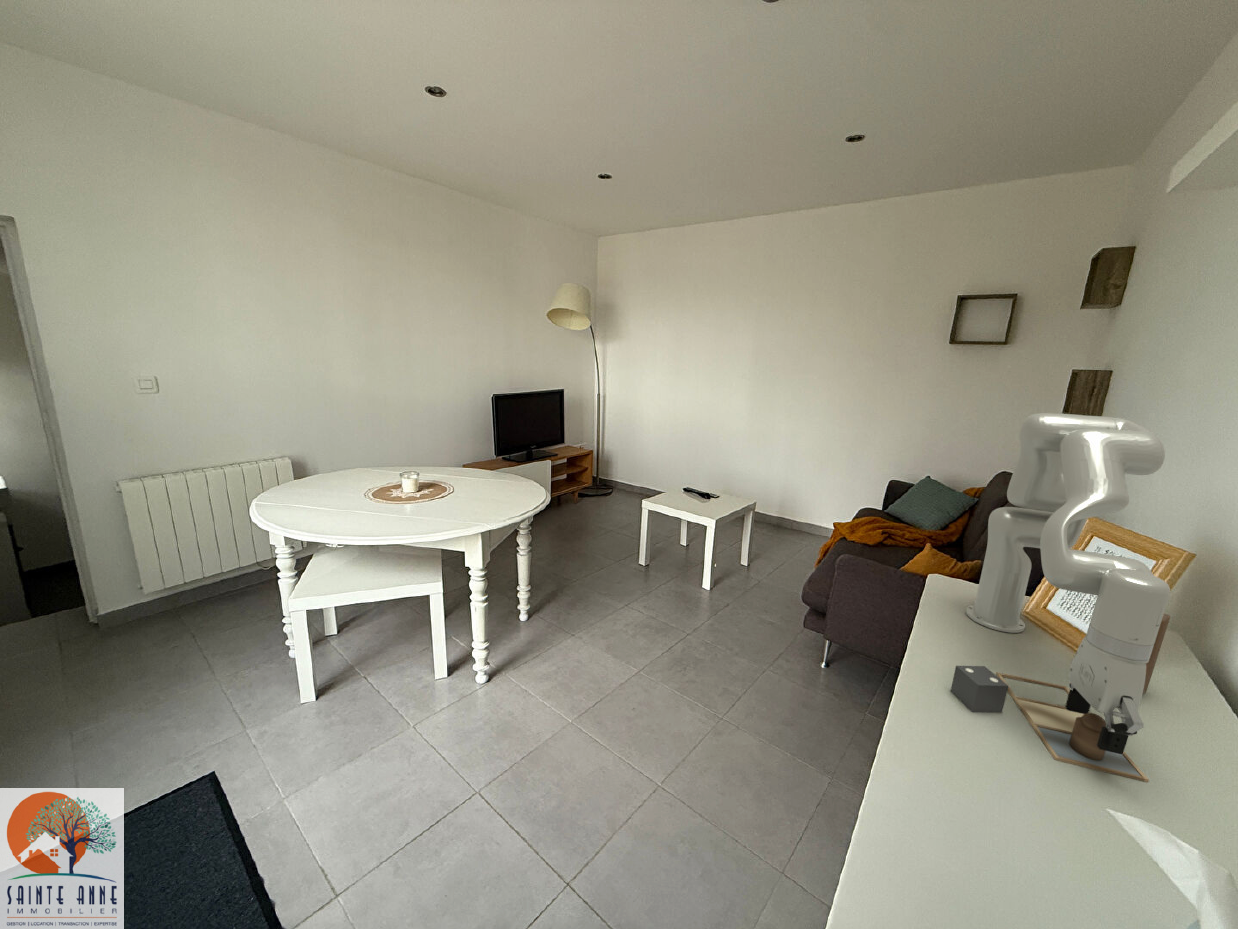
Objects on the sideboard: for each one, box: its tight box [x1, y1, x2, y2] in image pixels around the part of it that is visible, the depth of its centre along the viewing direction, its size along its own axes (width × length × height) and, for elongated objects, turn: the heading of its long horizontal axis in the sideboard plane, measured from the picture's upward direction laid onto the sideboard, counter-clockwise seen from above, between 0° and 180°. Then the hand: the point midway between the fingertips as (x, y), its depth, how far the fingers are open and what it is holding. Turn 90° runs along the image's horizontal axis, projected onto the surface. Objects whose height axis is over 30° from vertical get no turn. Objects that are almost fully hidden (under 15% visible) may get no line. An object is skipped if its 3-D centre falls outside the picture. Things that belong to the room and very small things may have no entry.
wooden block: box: [1143, 613, 1171, 694], centre depth 98 cm, size 9×4×18 cm, turn 119°
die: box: [950, 665, 1009, 713], centre depth 95 cm, size 6×6×6 cm
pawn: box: [1069, 712, 1106, 761], centre depth 83 cm, size 4×4×7 cm
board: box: [995, 671, 1150, 783], centre depth 91 cm, size 24×12×1 cm, turn 161°
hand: (1091, 730), depth 83 cm, fingers open, 9 cm apart
